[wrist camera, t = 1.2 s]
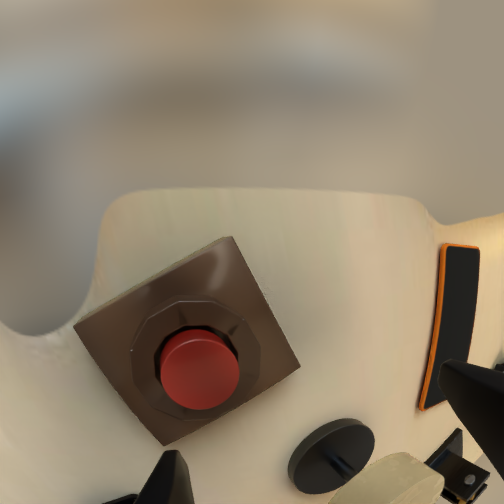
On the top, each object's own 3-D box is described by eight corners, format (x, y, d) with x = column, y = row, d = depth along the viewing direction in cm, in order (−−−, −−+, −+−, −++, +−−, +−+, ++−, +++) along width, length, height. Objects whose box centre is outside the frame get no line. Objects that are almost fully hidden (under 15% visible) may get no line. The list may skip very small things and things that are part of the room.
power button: (184, 405, 14) (188, 422, 13) (146, 351, 14) (144, 364, 12) (243, 371, 15) (253, 385, 13) (208, 315, 15) (215, 324, 13)
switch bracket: (410, 501, 27) (449, 530, 18) (404, 480, 25) (450, 513, 17) (458, 454, 29) (498, 475, 21) (457, 427, 28) (504, 450, 19)
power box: (161, 428, 17) (165, 464, 13) (81, 317, 16) (63, 336, 12) (287, 355, 20) (315, 377, 16) (223, 236, 18) (241, 234, 15)
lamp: (306, 500, 21) (360, 566, 11) (268, 457, 20) (330, 544, 10) (377, 449, 23) (445, 499, 14) (355, 398, 22) (442, 454, 12)
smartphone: (475, 246, 26) (481, 246, 25) (454, 391, 26) (460, 393, 26) (438, 242, 24) (445, 242, 23) (414, 410, 24) (419, 413, 23)
